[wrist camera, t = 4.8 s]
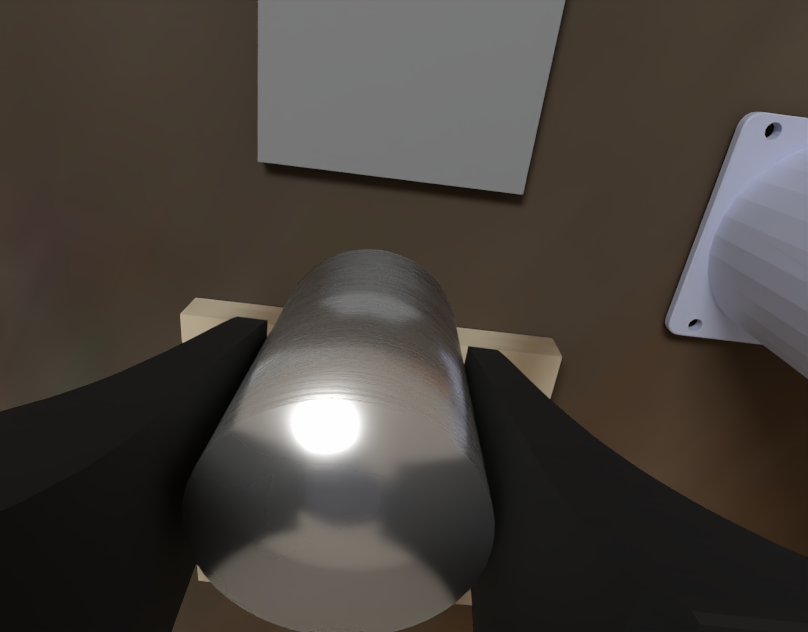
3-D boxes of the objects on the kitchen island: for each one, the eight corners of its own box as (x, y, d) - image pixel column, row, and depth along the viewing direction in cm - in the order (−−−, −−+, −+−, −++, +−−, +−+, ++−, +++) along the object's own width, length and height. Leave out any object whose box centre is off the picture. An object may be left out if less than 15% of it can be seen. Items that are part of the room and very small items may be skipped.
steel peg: (470, 263, 11) (528, 426, 6) (439, 413, 13) (462, 650, 8) (289, 237, 11) (176, 382, 6) (280, 392, 13) (186, 621, 7)
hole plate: (552, 338, 21) (562, 358, 19) (485, 579, 26) (490, 608, 25) (195, 297, 20) (179, 315, 18) (209, 554, 26) (197, 582, 24)
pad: (590, -134, 14) (595, -141, 14) (520, 191, 18) (523, 194, 18) (263, -185, 14) (258, -193, 13) (261, 159, 18) (257, 161, 17)
